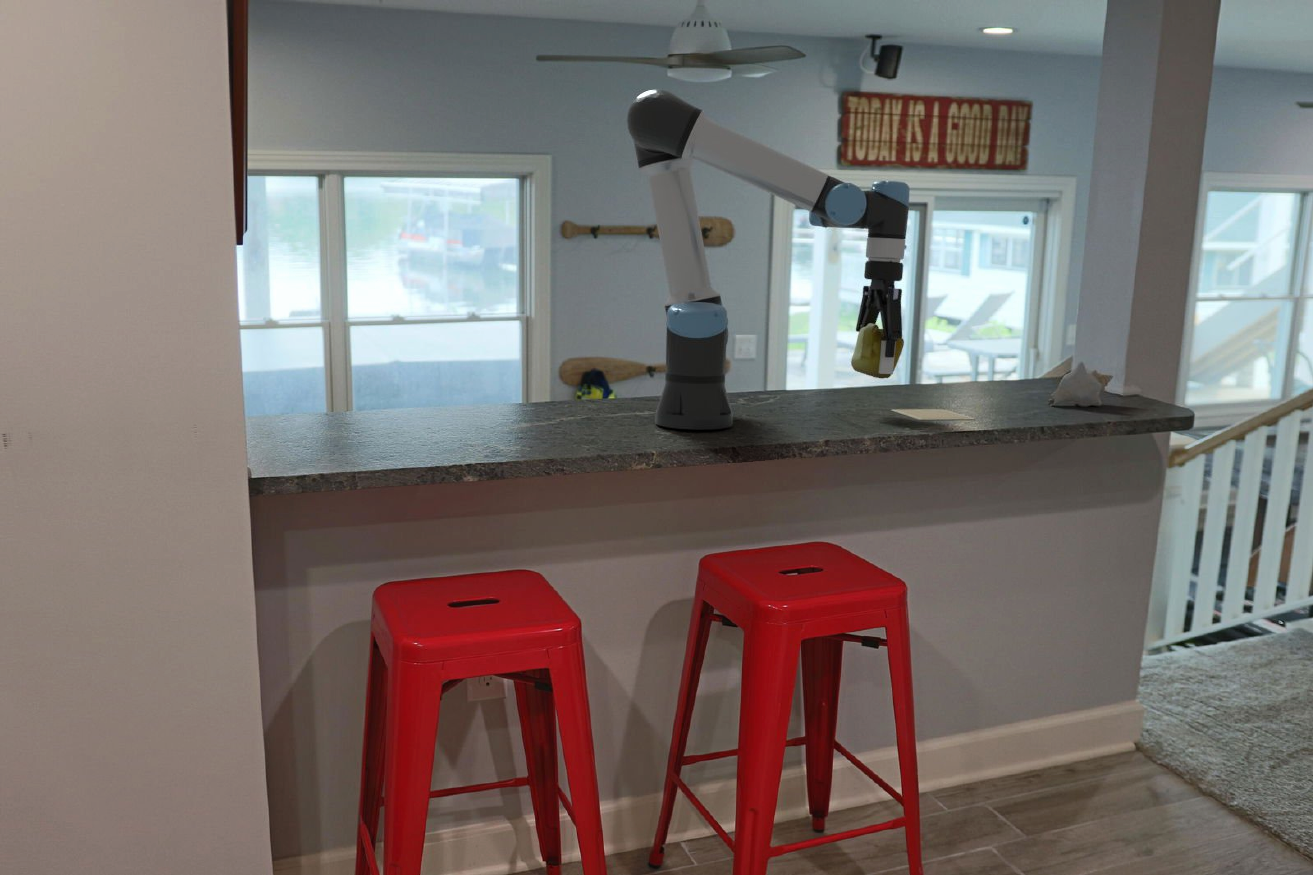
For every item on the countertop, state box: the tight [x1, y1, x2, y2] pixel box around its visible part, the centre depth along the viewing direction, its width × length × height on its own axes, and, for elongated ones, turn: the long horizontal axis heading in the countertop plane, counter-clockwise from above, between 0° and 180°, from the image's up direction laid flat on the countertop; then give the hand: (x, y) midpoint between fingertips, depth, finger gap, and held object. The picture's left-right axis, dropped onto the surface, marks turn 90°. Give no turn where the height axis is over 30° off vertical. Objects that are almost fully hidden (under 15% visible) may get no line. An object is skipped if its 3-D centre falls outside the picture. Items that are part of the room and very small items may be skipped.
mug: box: [850, 323, 905, 379], centre depth 223 cm, size 12×10×10 cm
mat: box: [890, 408, 976, 421], centre depth 229 cm, size 12×14×1 cm
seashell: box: [1047, 360, 1114, 408], centre depth 246 cm, size 12×10×15 cm
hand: (874, 370), depth 225 cm, fingers closed on mug, 10 cm apart
